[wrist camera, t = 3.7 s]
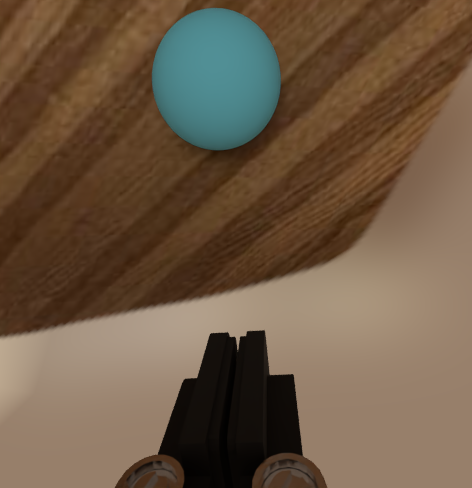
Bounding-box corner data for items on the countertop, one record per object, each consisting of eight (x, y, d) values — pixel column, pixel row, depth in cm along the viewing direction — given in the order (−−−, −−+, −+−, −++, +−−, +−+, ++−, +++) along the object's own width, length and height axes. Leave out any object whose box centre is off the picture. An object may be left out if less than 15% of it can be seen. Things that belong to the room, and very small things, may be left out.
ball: (179, 153, 20) (149, 161, 14) (161, 39, 18) (117, -3, 13) (281, 141, 20) (290, 144, 14) (272, 22, 18) (279, -30, 12)
